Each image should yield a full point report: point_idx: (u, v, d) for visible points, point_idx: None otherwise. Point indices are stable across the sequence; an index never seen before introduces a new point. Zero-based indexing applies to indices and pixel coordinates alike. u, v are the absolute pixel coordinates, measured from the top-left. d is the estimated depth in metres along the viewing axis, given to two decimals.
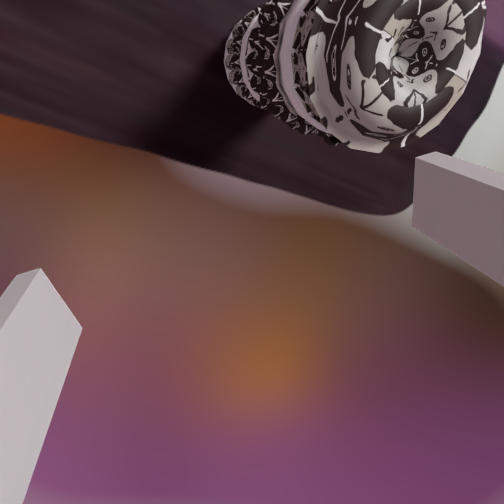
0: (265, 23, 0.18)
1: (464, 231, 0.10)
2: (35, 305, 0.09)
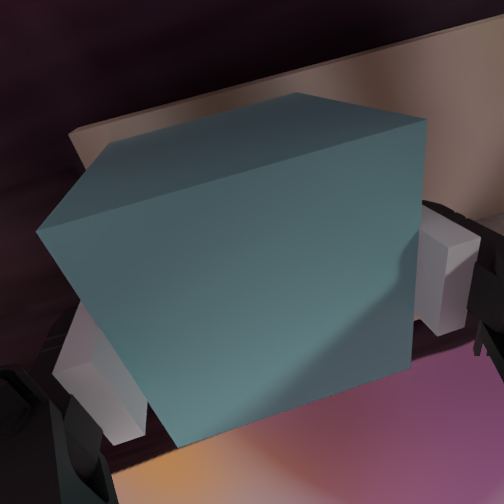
0: None
1: None
2: None
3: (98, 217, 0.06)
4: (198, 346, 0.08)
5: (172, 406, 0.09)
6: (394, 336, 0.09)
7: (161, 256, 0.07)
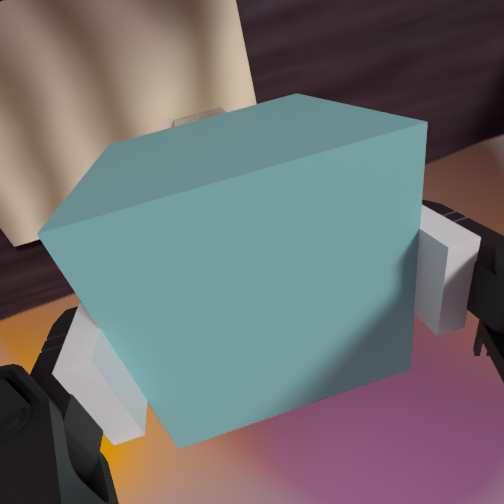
0: None
1: None
2: None
3: (99, 220, 0.06)
4: (199, 348, 0.08)
5: (172, 407, 0.09)
6: (394, 338, 0.09)
7: (162, 258, 0.07)
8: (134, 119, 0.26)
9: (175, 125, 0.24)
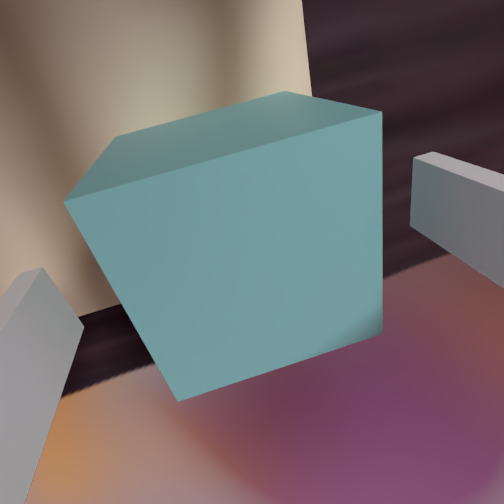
0: None
1: (461, 230, 0.10)
2: (37, 304, 0.09)
3: (113, 191, 0.07)
4: (195, 306, 0.09)
5: (172, 361, 0.10)
6: (365, 303, 0.11)
7: (163, 225, 0.08)
8: None
9: None
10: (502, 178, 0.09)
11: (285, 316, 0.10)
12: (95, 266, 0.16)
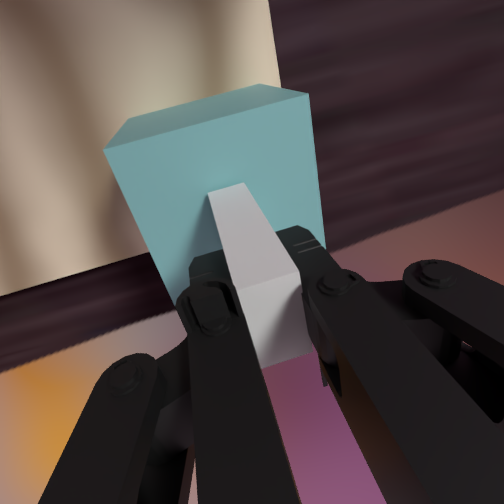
0: None
1: None
2: None
3: (134, 143, 0.11)
4: (188, 231, 0.13)
5: (172, 274, 0.14)
6: None
7: (166, 168, 0.12)
8: None
9: None
10: (255, 212, 0.10)
11: None
12: (110, 224, 0.21)
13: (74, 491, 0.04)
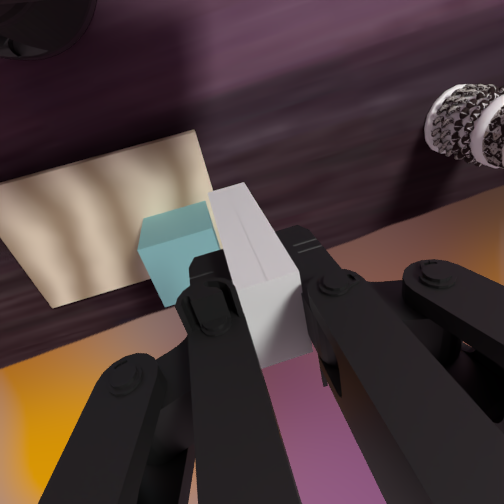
0: None
1: None
2: None
3: (148, 247, 0.32)
4: (169, 276, 0.34)
5: (163, 293, 0.35)
6: None
7: (160, 254, 0.32)
8: (137, 228, 0.39)
9: None
10: (255, 212, 0.10)
11: None
12: (133, 265, 0.41)
13: (74, 491, 0.04)
